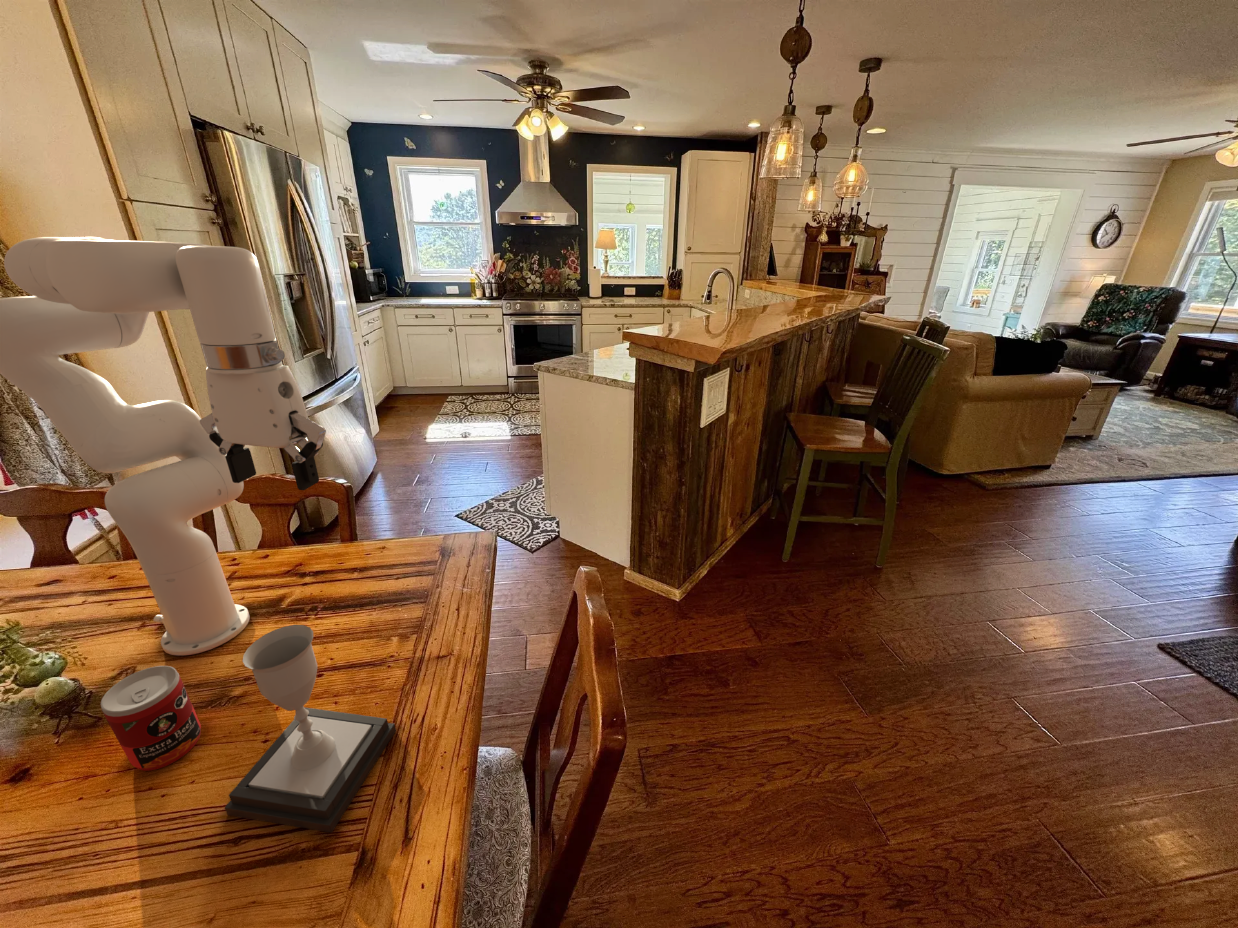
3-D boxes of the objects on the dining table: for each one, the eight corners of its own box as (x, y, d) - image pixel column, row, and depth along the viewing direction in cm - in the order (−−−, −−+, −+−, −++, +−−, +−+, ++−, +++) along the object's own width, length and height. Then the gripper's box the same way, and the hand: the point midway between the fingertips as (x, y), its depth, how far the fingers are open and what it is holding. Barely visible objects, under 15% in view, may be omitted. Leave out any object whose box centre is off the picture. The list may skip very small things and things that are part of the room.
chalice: (314, 783, 61) (278, 674, 54) (268, 772, 62) (226, 663, 55) (355, 732, 68) (327, 629, 61) (312, 723, 69) (280, 620, 62)
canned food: (144, 783, 64) (111, 723, 60) (122, 753, 68) (90, 693, 64) (213, 739, 70) (188, 681, 66) (189, 713, 74) (164, 656, 70)
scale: (227, 814, 61) (220, 798, 59) (308, 718, 73) (303, 703, 72) (331, 832, 59) (326, 816, 58) (396, 730, 72) (392, 715, 70)
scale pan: (251, 792, 61) (248, 784, 61) (308, 723, 71) (306, 715, 70) (325, 804, 60) (322, 796, 60) (373, 732, 69) (371, 724, 69)
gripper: (329, 355, 62) (353, 477, 69) (209, 346, 65) (244, 466, 71) (282, 367, 56) (314, 501, 62) (151, 357, 58) (195, 488, 65)
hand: (276, 482), depth 67 cm, fingers open, 9 cm apart
